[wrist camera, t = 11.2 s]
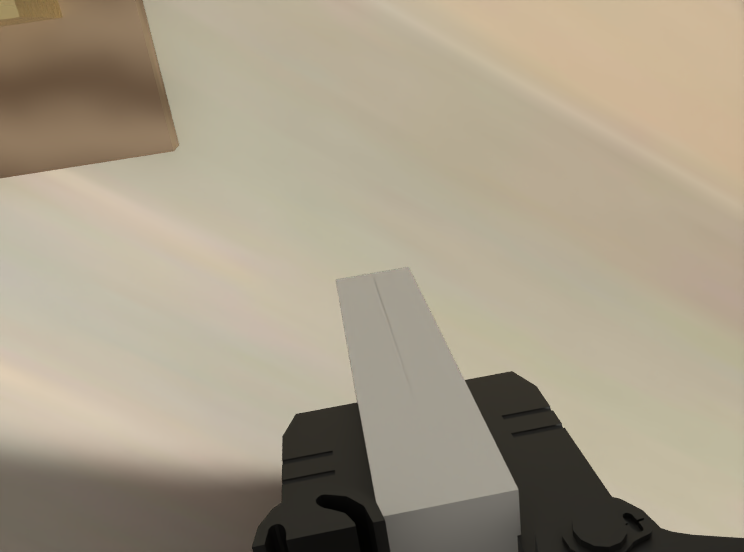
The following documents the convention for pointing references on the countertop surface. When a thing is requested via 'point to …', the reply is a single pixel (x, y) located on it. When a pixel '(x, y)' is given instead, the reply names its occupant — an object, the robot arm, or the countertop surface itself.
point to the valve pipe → (28, 11)
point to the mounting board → (81, 89)
